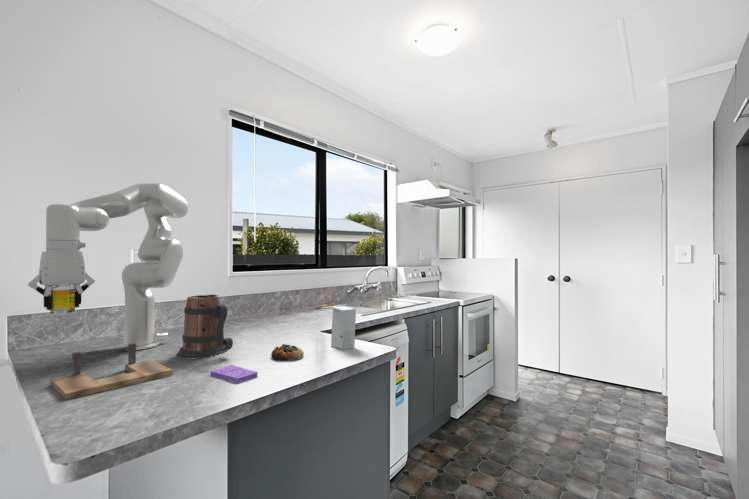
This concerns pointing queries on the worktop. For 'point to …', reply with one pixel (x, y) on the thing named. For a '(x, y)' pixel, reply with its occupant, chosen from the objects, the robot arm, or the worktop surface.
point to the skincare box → (343, 327)
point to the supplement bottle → (63, 300)
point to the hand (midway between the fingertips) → (62, 307)
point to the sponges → (234, 373)
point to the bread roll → (287, 353)
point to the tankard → (204, 328)
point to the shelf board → (85, 385)
